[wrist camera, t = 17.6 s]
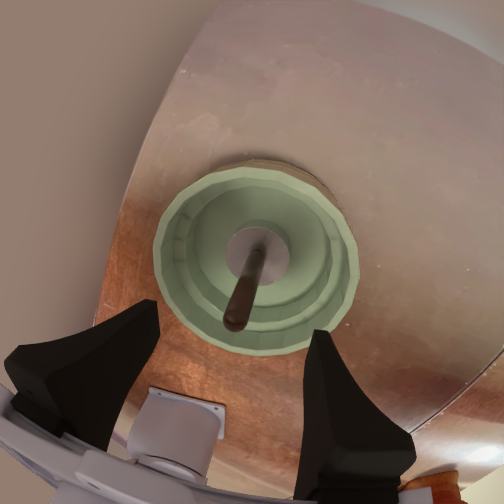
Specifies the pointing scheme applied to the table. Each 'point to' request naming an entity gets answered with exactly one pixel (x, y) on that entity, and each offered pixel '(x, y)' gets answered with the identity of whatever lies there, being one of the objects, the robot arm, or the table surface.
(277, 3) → the table surface
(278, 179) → the bowl
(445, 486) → the ceramic vessel
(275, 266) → the peg on round base
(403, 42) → the table surface
